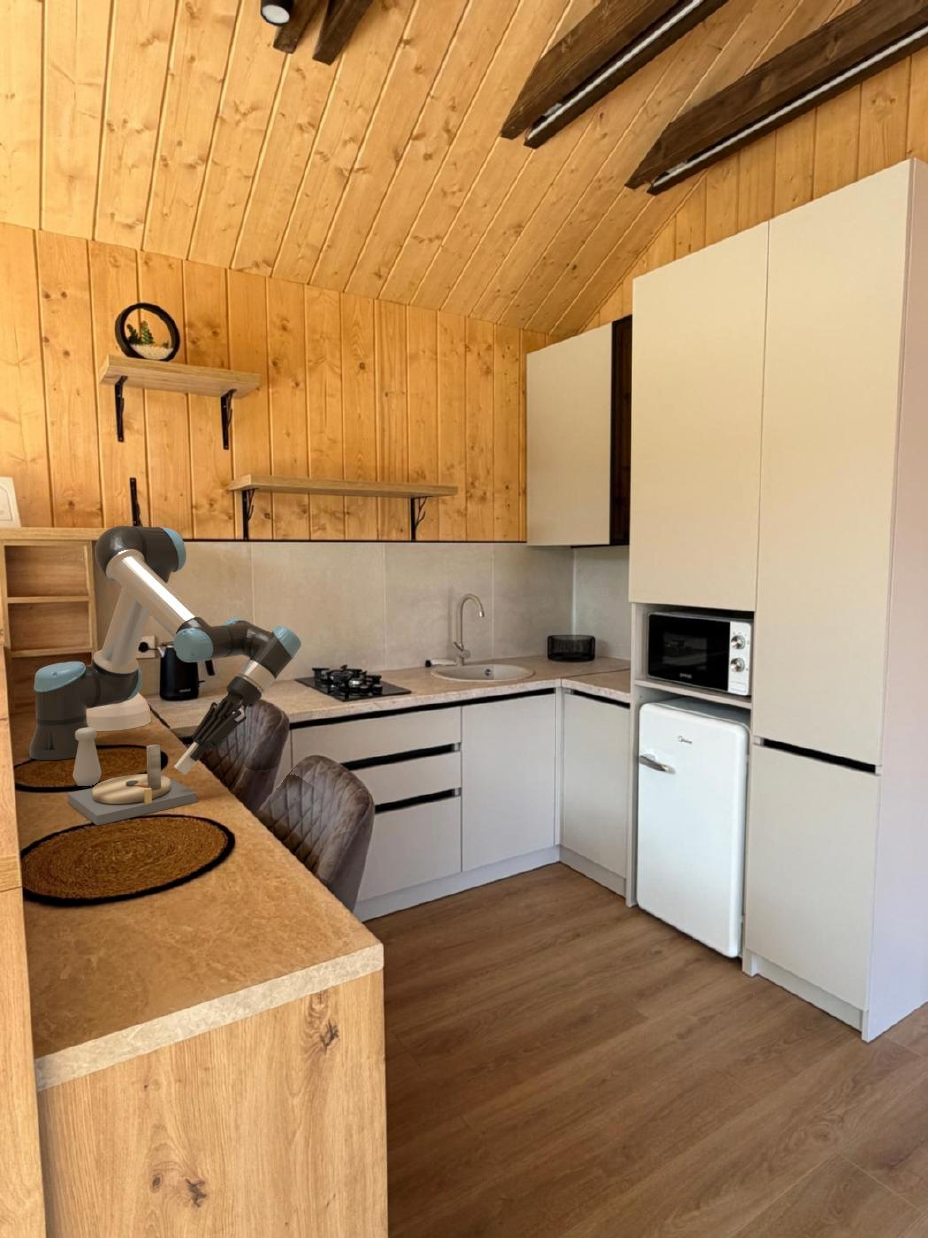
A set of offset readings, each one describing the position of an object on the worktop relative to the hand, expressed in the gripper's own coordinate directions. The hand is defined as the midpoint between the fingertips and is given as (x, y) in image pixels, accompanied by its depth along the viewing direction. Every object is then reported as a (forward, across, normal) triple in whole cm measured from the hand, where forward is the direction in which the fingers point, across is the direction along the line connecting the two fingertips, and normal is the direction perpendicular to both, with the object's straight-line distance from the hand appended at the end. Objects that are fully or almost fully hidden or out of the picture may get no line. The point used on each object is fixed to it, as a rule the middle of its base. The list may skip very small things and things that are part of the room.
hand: (179, 771), depth 155 cm
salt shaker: (+12, +25, +3) cm, 28 cm away
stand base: (+10, +6, +1) cm, 12 cm away
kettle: (-6, +82, -16) cm, 84 cm away
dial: (+9, +6, +2) cm, 11 cm away
